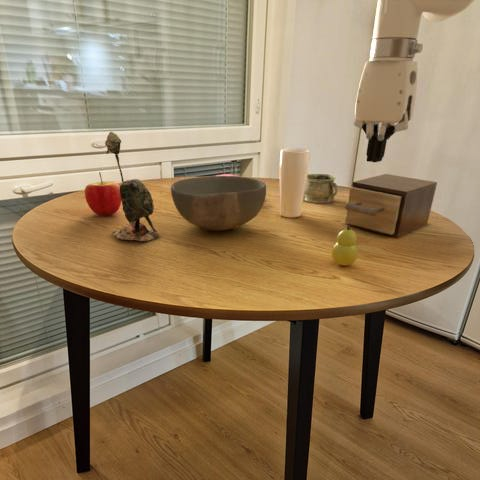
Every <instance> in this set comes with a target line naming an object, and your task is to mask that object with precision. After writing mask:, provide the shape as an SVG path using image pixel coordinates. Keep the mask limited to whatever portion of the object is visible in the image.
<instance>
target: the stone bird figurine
mask: <svg viewBox="0 0 480 480" xmlns="http://www.w3.org/2000/svg"><path fill="white" fill-rule="evenodd" d="M104 142H105V144H104V145H105V147H106V148H107V150H106V155H108V154H109V153H112V154H114V155H115V156H114V157H115V160H116V162H117V166H118V169H119V174H120V178H121V182H122V183H120V185H119V190H120V196H121V205H122V211H123V212H124V217H125V218H126V220H127V221H128V223H125V224H124V225H121V228H120V229H118V230H115V231H112V232H111V234H112V235H113V236H114V237H117V238H118V239H120V240H121V241H123V240H128V241H140V242H150V240H151V241H152V240H156V239H157V238H158V237H159V232H158V230H157V229H156V228H155V227H154V225H153V223H152V221H151V218H150V216H151V215H153V213H154V209H155V205H154V199H153V198H152V194H151V192H150V191H149V189H148V187H147V186H146V185H145V184H144V182H142V181H141V180H140V179H138V178H133V179H127V180H124V176H123V172H122V168H121V164H120V157H119V154H120V152H121V145H122V139H121V138H120V137H119V136H118V135H117V134H116V133H115V132H114V131H110V132H109V133H108V135H107V137H106V140H105V141H104ZM142 218H144V219H145V220H146V222H147V223H148V226H150V229H148V228H147V226H146V225H145V224H144V223H142V222H141V219H142Z"/></svg>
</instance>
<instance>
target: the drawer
mask: <svg viewBox="0 0 480 480" xmlns="http://www.w3.org/2000/svg"><path fill="white" fill-rule="evenodd" d="M401 200H402V195H399V194H394V193H388V192H383V191H378V190H373V189H367V188H362V187H360V188H356V187H352V186H351V187H350V188H349V195H348V201H347V203H346V205H345V210H346V215H345V224H347V223H348V224H352V225H356V226H360V227H364V228H368V229H371V230H375V231H379V232H383V233H387V234H391V235H392V234H394V232H395V229H396V224H397V220H398V215H399V210H400V205H401Z"/></svg>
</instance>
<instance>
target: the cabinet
mask: <svg viewBox="0 0 480 480" xmlns="http://www.w3.org/2000/svg"><path fill="white" fill-rule="evenodd" d="M437 185H438V182H437V181H432V180H426V179H419V178H414V177H407V176H402V175H395V174H389V173H383V174H381V175H376V176H371V177H367V178H364V179H360V180H355V181H352V183H351V187H356V188H360V187H362V188H367V189H373V190H378V191H383V192H388V193H394V194H399V195H402V200H401V205H400V210H399V215H398V220H397V224H396V229H395V232H394V234H392V235H391V234H387V233H383V232H379V231H375V230H371V229H368V228H364V227H360V226H356V225H352V224H348V223H346V225H347V226H348V225H350V227H355V228H358V229H361V230H366V231H370V232H374V233H377V234H381V235H385V236H390V237H393V238H397V239H398V238H400V237H402V236H404V235H407V234H408V233H411V232H414V231H415V230H418V229H420V228H423V227H425V226H427V225H428V223H429V218H430V214H431V210H432V207H433V202H434V199H435V198H434V197H435V192H436V190H437Z"/></svg>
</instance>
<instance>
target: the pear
mask: <svg viewBox="0 0 480 480" xmlns="http://www.w3.org/2000/svg"><path fill="white" fill-rule="evenodd" d="M357 241H358V237H357V233H356V232H355V231H354V230H352V229H351V226H350V225H347V226H346V228H345V229H342V230H341V231H339V232H338V234H337V236H336V243H334V244H333V246H332V249H331V258H332V260H333V261H334V262H335V264H337V265H340V266H342V267H343V266H344V267H345V266H350V265H351V264H354V263H355V261H356V260H357V259H358V256H359V248H358V245H357Z"/></svg>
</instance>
